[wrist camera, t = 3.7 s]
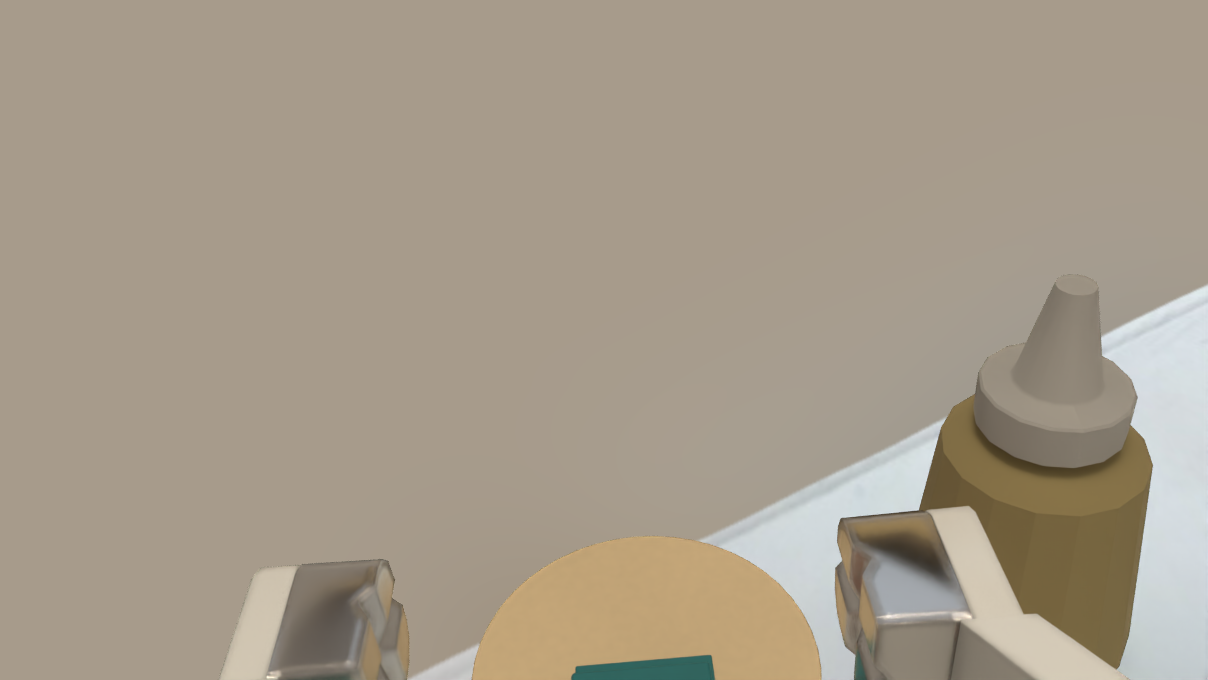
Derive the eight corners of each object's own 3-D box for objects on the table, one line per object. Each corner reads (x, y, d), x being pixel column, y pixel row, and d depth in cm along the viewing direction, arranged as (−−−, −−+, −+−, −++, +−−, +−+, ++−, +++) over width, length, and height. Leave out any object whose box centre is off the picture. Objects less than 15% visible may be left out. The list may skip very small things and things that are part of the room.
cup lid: (488, 575, 32) (482, 549, 32) (786, 549, 32) (786, 522, 31) (465, 874, 25) (456, 848, 24) (856, 843, 24) (859, 815, 24)
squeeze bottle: (909, 569, 45) (951, 206, 35) (1111, 616, 42) (1224, 233, 32) (874, 724, 39) (913, 340, 29) (1107, 790, 36) (1243, 390, 26)
